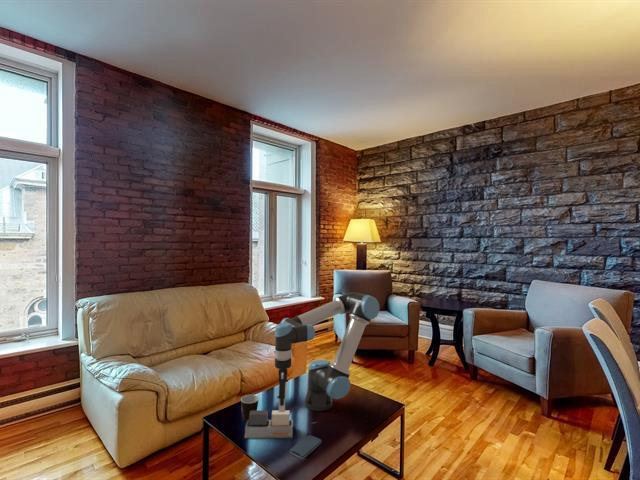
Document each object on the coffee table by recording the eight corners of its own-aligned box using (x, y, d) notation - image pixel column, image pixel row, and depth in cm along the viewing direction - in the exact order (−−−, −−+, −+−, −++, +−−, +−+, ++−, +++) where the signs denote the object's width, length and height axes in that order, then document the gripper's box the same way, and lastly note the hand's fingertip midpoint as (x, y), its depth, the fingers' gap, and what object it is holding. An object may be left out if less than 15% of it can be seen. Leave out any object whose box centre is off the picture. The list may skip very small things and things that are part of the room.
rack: (292, 426, 154) (293, 407, 154) (292, 438, 145) (293, 417, 145) (247, 426, 152) (248, 407, 152) (244, 438, 143) (245, 418, 143)
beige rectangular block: (289, 427, 151) (289, 410, 151) (288, 431, 147) (289, 414, 147) (271, 427, 150) (272, 410, 150) (271, 432, 147) (271, 414, 147)
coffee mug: (253, 425, 153) (254, 404, 153) (237, 422, 155) (237, 402, 155) (263, 412, 165) (263, 393, 165) (247, 410, 167) (247, 391, 167)
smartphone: (323, 439, 143) (303, 457, 130) (322, 443, 143) (302, 461, 130) (309, 433, 147) (288, 449, 134) (308, 437, 147) (288, 454, 134)
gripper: (276, 348, 161) (276, 390, 161) (272, 369, 136) (272, 419, 136) (292, 348, 162) (291, 390, 162) (290, 368, 137) (290, 418, 137)
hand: (282, 403), depth 149 cm, fingers open, 13 cm apart
